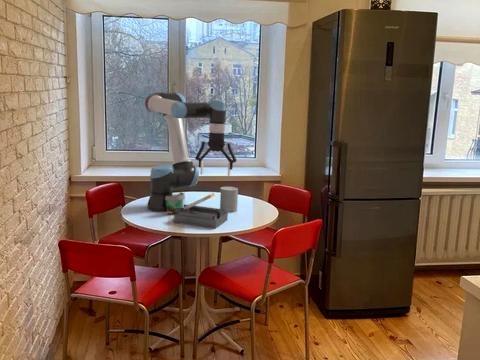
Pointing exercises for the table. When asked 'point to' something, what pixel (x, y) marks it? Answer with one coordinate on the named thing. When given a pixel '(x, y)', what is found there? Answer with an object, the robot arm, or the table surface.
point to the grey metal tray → (201, 216)
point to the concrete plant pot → (229, 199)
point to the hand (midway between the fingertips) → (215, 175)
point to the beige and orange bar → (198, 202)
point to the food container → (174, 203)
